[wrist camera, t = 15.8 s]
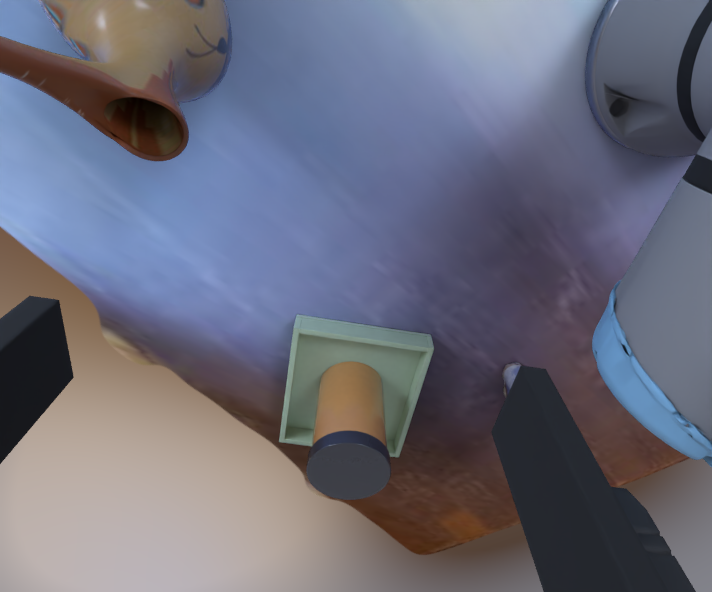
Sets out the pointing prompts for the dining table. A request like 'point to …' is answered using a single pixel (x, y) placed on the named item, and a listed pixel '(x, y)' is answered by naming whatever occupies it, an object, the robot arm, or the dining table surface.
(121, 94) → the ceramic vessel
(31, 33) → the dining table surface
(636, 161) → the dining table surface
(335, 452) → the jar
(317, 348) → the serving tray
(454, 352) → the dining table surface
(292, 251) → the dining table surface
